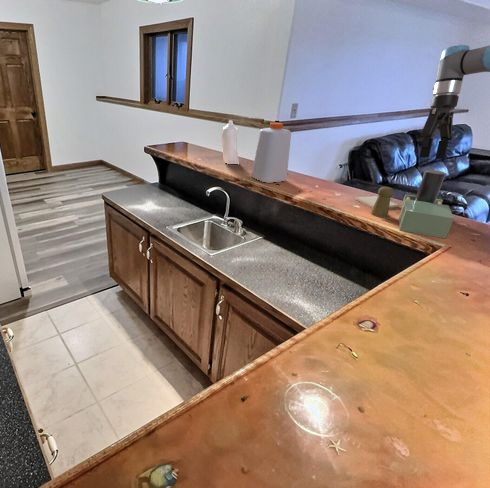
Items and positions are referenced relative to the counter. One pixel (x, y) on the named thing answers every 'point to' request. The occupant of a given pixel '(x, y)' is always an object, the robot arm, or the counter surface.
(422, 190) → the dark brown rectangular block
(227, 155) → the pale pink bottle
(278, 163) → the plastic bottle
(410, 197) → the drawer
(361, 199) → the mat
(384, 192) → the olive pawn shaped piece
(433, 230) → the green beveled box
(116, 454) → the counter surface
